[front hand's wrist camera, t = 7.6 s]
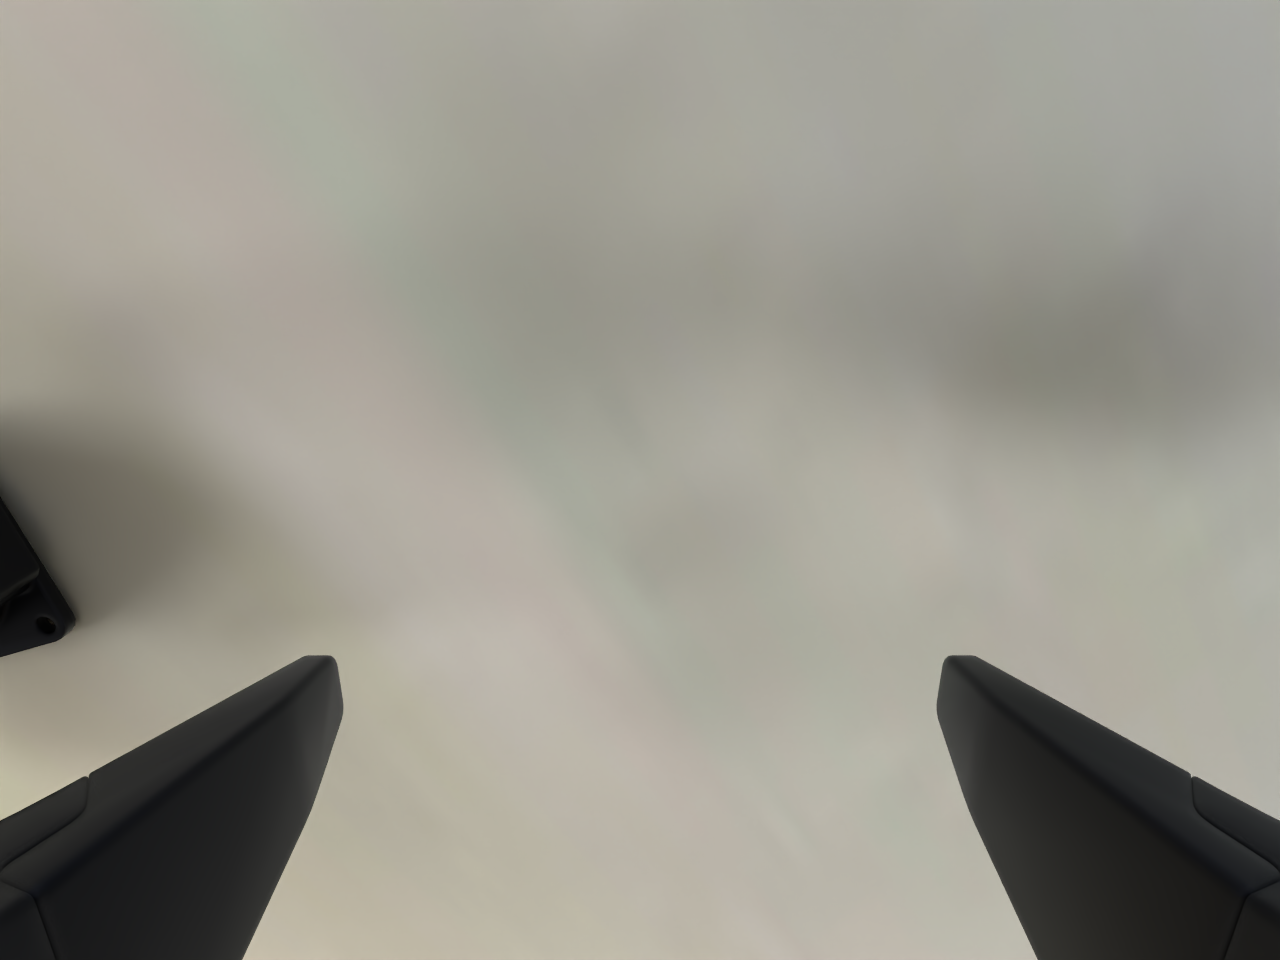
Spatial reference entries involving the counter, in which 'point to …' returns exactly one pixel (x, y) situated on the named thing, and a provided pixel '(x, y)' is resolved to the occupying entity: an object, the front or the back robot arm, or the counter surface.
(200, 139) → the counter surface
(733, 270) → the counter surface
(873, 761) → the counter surface
